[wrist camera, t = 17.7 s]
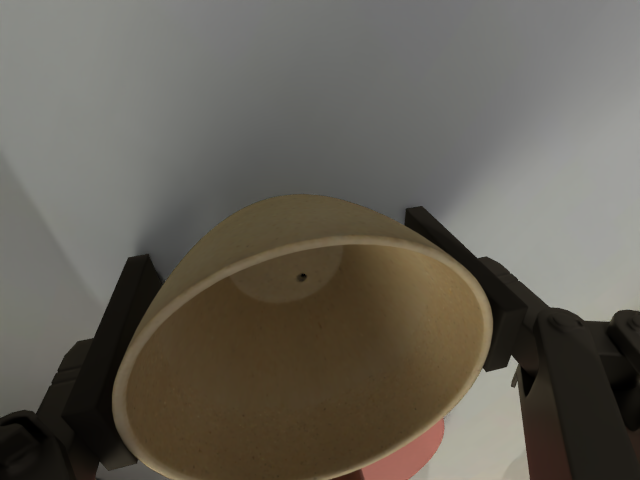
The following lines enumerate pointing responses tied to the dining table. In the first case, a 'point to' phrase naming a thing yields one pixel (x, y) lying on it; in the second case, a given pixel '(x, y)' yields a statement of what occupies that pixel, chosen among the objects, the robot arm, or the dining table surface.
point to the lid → (402, 459)
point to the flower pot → (299, 346)
